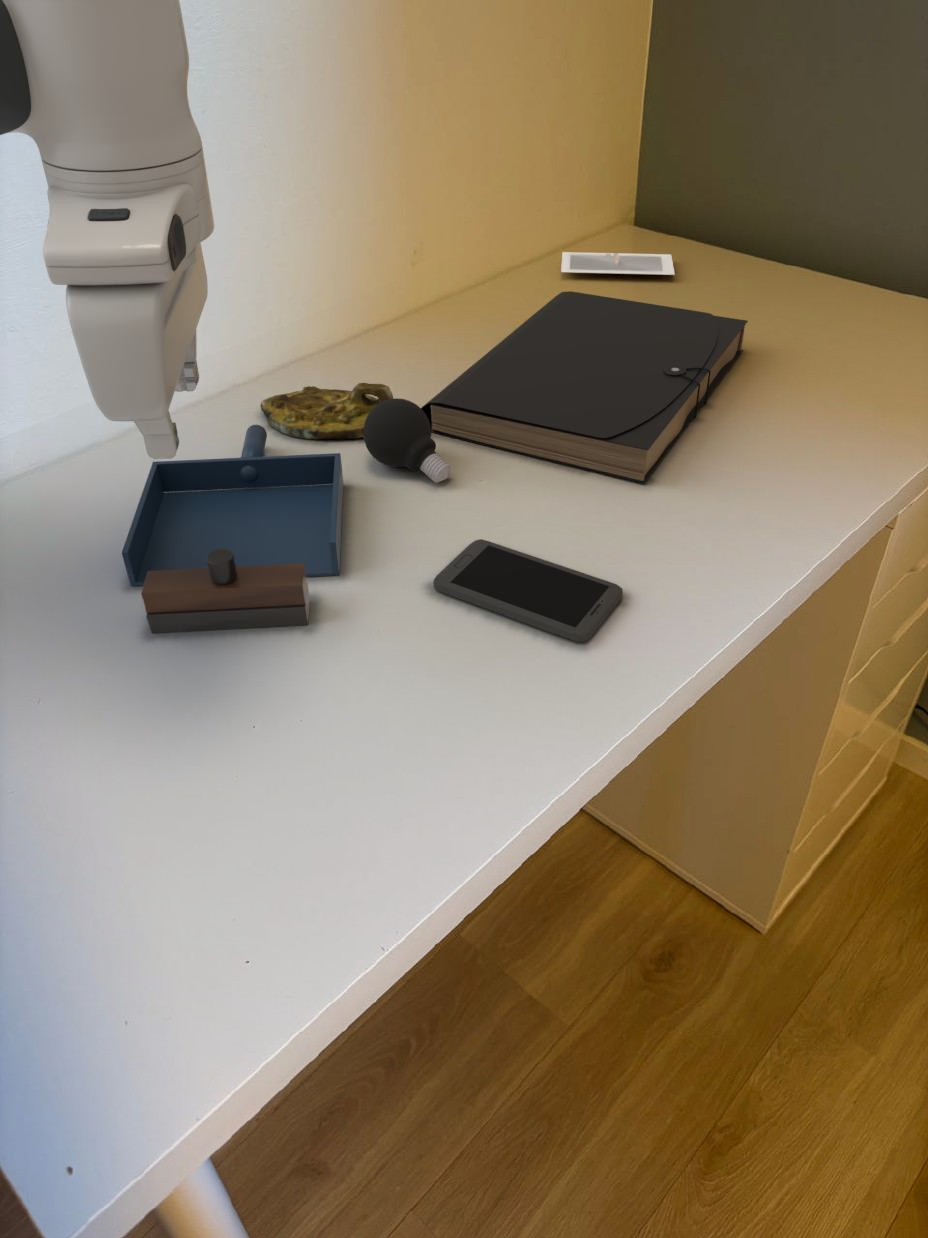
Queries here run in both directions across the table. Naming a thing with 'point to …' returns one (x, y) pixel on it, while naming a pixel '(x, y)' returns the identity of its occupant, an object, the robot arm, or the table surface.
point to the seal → (324, 411)
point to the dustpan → (239, 512)
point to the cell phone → (529, 589)
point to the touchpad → (617, 263)
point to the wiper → (226, 596)
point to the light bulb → (403, 438)
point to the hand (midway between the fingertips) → (176, 418)
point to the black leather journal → (592, 383)
